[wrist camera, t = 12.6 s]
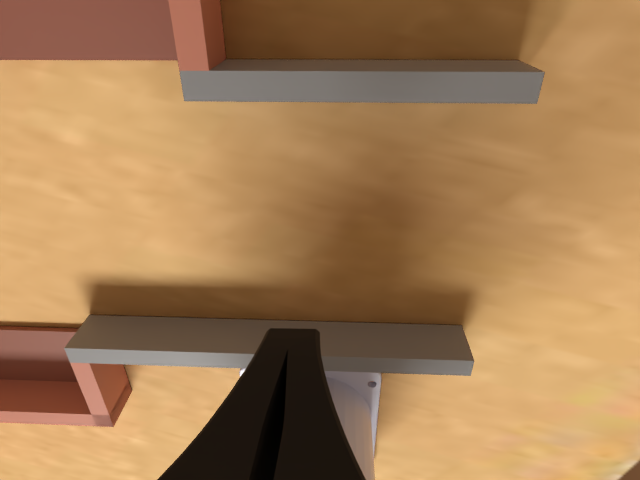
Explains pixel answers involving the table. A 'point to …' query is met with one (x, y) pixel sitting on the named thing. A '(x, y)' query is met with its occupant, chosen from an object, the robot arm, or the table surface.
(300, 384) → the robot arm
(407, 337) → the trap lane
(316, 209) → the table surface
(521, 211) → the table surface
